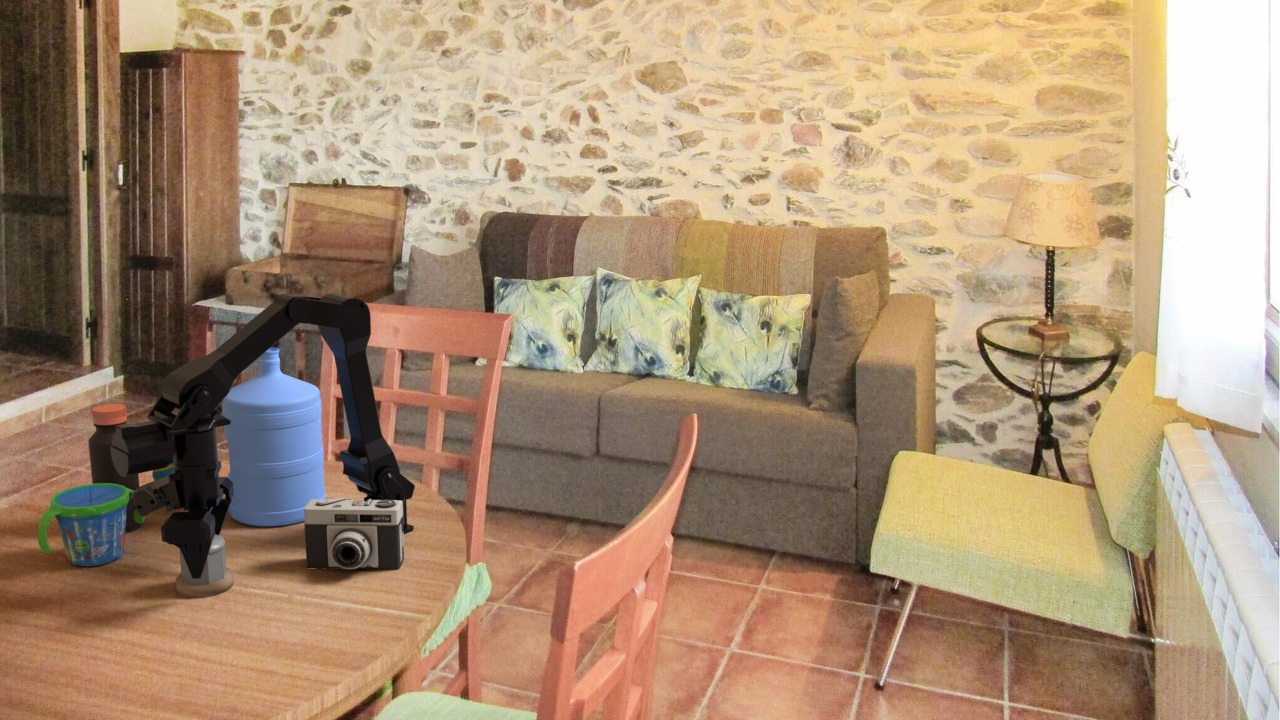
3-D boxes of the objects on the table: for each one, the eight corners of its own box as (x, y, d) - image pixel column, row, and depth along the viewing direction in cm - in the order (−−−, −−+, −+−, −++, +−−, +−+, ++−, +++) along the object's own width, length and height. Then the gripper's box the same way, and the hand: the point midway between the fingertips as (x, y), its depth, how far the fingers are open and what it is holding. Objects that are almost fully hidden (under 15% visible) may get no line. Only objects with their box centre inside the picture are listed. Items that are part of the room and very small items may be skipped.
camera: (297, 580, 162) (294, 515, 159) (313, 557, 170) (310, 495, 167) (394, 581, 162) (392, 516, 160) (405, 558, 170) (403, 496, 168)
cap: (230, 566, 162) (227, 533, 161) (222, 584, 156) (220, 549, 155) (186, 569, 161) (184, 535, 160) (177, 586, 155) (174, 551, 154)
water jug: (345, 507, 190) (339, 347, 184) (271, 535, 177) (261, 365, 171) (284, 489, 198) (276, 335, 192) (209, 515, 185) (197, 351, 179)
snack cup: (57, 584, 158) (50, 517, 156) (27, 564, 165) (19, 499, 163) (163, 552, 170) (158, 489, 168) (130, 534, 177) (125, 474, 174)
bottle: (144, 517, 184) (134, 400, 179) (140, 532, 178) (130, 411, 173) (99, 521, 182) (88, 403, 177) (93, 536, 176) (82, 414, 171)
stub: (212, 570, 164) (210, 537, 163) (244, 584, 160) (242, 549, 158) (165, 588, 158) (162, 553, 157) (197, 602, 154) (194, 566, 152)
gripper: (150, 442, 162) (159, 542, 165) (115, 484, 144) (125, 596, 148) (230, 439, 164) (237, 538, 167) (205, 481, 146) (213, 591, 150)
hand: (203, 564), depth 158 cm, fingers open, 9 cm apart
